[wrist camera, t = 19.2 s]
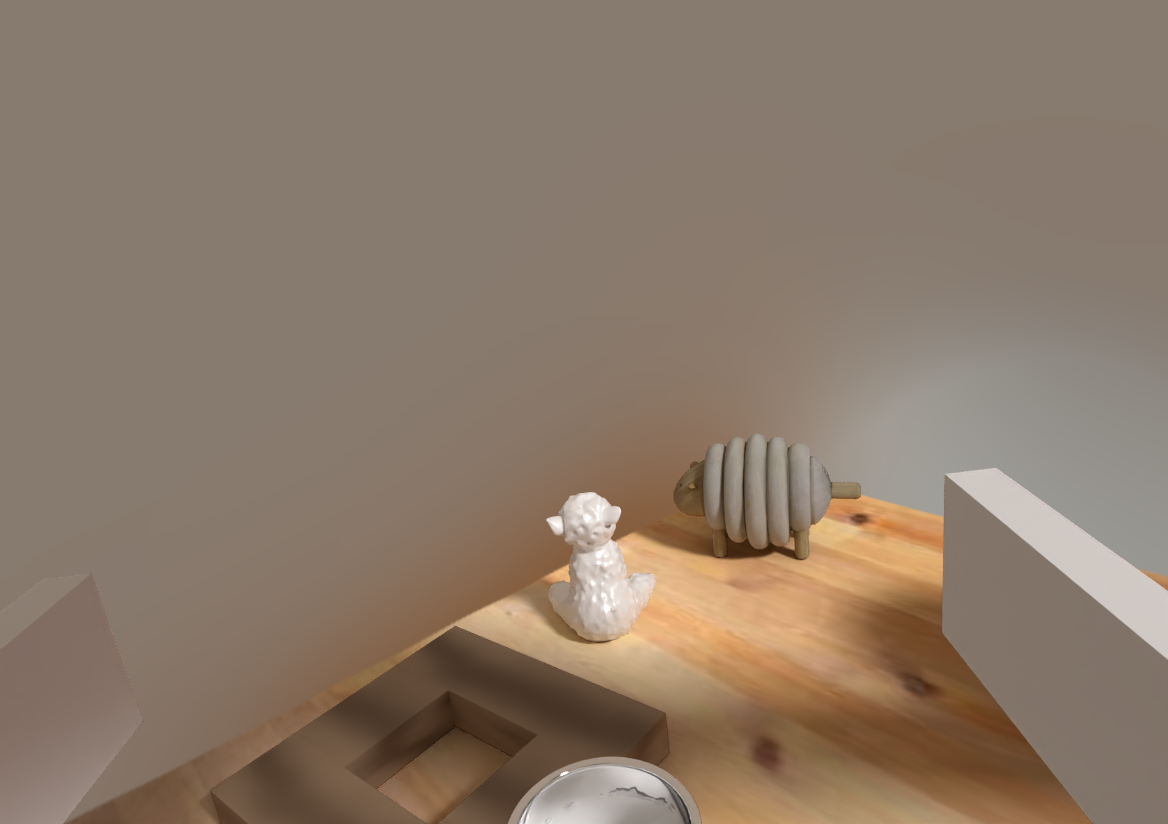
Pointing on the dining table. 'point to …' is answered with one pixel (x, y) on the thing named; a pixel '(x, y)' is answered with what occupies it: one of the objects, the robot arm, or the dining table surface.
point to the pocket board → (421, 717)
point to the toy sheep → (760, 492)
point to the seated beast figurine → (596, 572)
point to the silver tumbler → (607, 795)
